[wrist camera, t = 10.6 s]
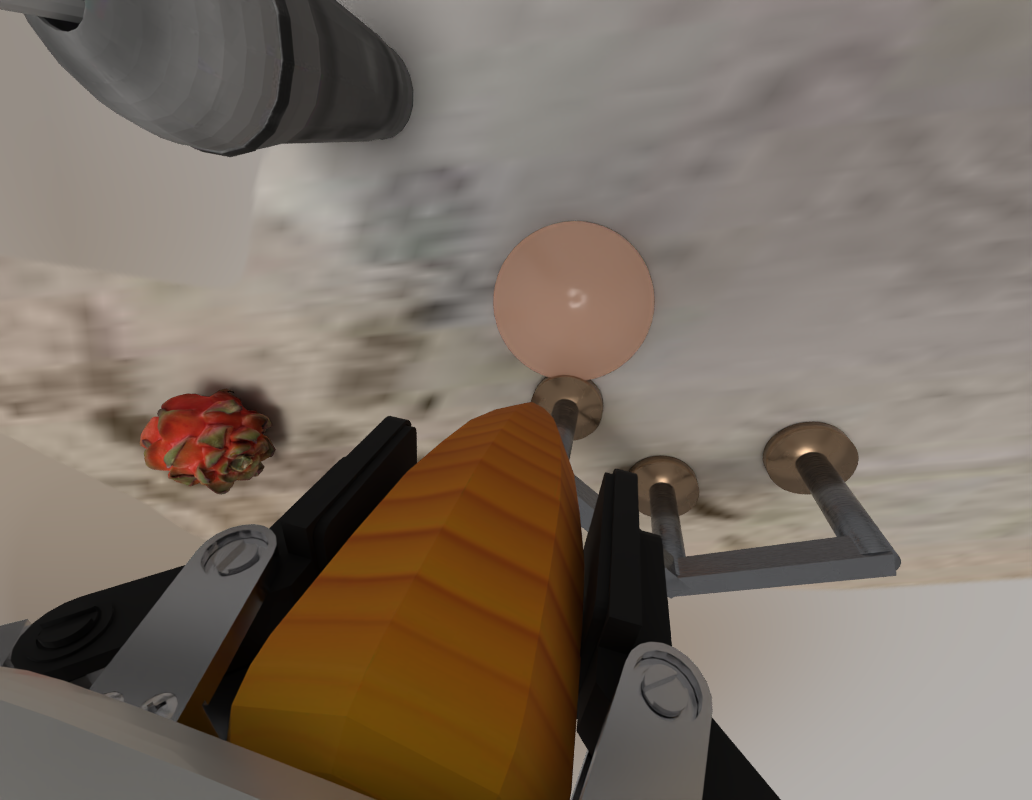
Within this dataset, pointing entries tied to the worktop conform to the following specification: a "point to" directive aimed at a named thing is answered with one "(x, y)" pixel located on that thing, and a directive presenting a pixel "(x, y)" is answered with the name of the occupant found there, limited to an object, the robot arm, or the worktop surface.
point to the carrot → (439, 632)
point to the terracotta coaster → (574, 300)
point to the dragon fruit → (207, 440)
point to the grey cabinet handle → (790, 464)
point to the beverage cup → (230, 69)
